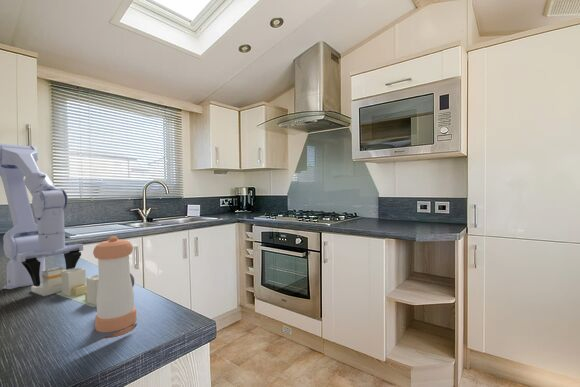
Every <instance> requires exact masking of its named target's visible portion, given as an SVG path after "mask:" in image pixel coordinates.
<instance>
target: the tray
mask: <svg viewBox="0 0 580 387" xmlns="http://www.w3.org/2000/svg"><path fill="white" fill-rule="evenodd" d="M30 287H31V292H32V293H34V294H37V295H39V296H42V297H46V296H50V295H52V294H56V293H60V292H62V285H61V286H58V287H54V288H50V289H46V290H44V289H42V283H40V286H34V285H30Z"/></svg>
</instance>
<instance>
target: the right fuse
mask: <svg viewBox="0 0 580 387" xmlns="http://www.w3.org/2000/svg"><path fill="white" fill-rule="evenodd" d="M98 283H99V274H95V275H92V276H88V277H86V285H87V302H89V303H92V304H95V305H97V303H96V298H97V290H98Z"/></svg>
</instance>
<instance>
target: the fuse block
mask: <svg viewBox="0 0 580 387" xmlns="http://www.w3.org/2000/svg"><path fill="white" fill-rule="evenodd" d="M55 295H58V296H59V297H63V298H67V299H69V300H72V301H74V302H78V303H80V304H83V305H86V306H88V307H91V308H97V305H95V304H92V303H89V302H87V285H85V284H83V285H80V286H76V287H72V295H70V296H69V295H66V294H63V293H62V291H61V292H57V293H55Z"/></svg>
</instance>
